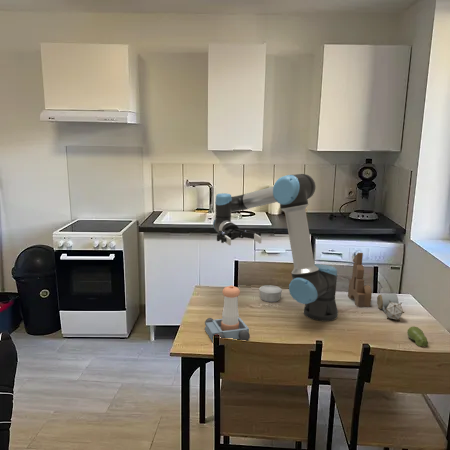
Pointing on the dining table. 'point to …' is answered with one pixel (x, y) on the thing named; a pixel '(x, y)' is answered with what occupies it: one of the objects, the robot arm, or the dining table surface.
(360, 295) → the wooden toy
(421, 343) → the green toy animal
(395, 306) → the game die
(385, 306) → the grey cylindrical jar
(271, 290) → the ramekin
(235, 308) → the pepper shaker
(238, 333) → the chassis
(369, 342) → the dining table surface
